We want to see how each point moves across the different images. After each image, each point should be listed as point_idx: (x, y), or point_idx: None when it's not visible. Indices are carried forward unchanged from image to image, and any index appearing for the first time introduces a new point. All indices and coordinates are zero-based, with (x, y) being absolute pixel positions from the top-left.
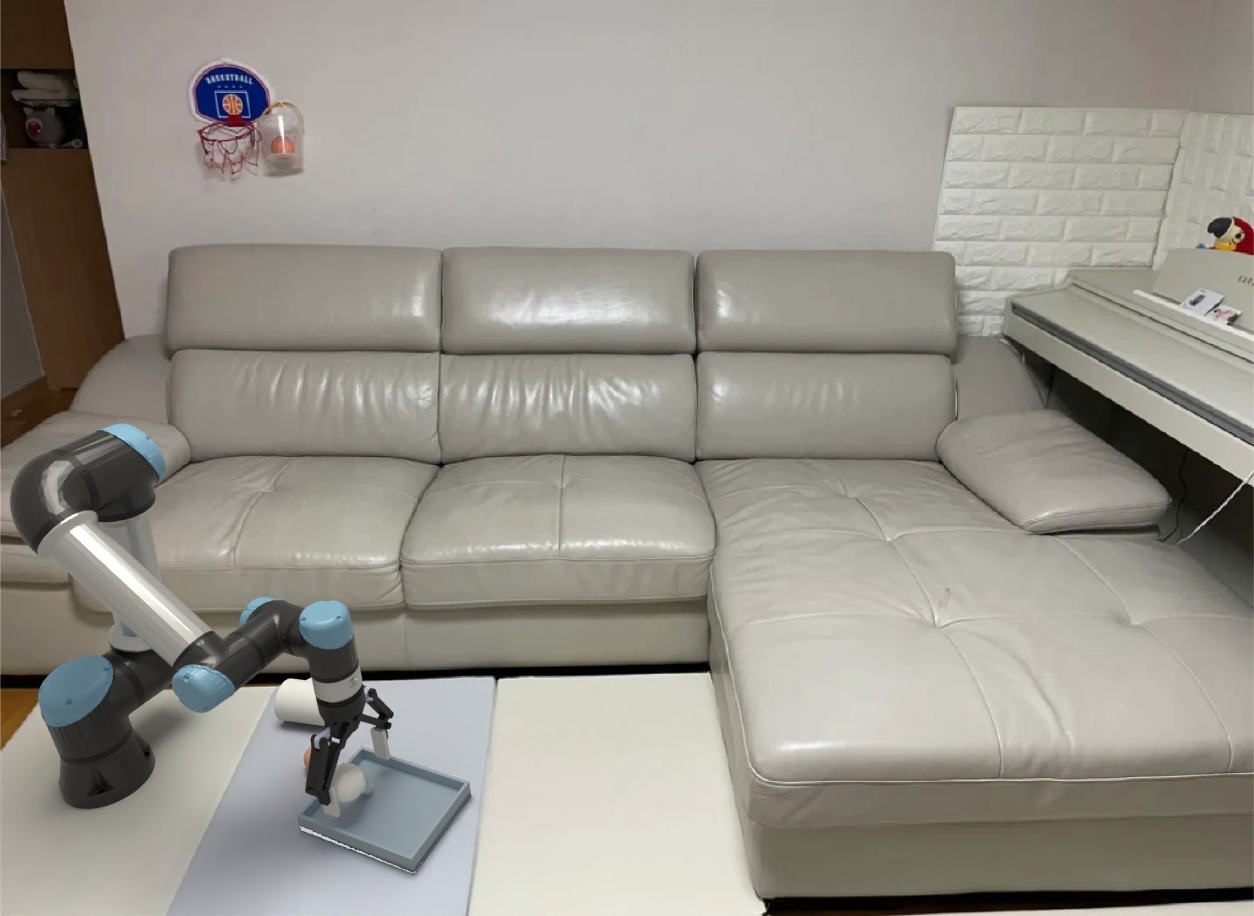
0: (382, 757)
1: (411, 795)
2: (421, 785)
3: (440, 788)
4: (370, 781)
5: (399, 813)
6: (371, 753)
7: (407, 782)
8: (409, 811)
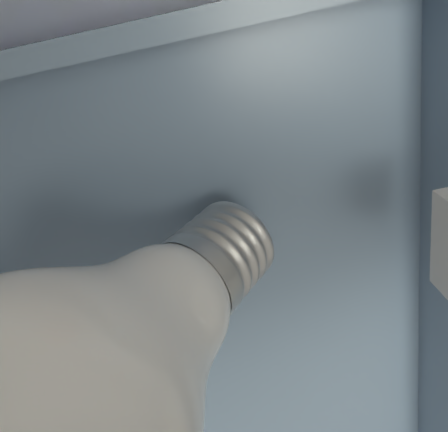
0: (437, 251)
1: (322, 367)
2: (383, 359)
3: (399, 413)
4: (261, 274)
5: (228, 393)
6: None
7: (372, 310)
8: (256, 411)
